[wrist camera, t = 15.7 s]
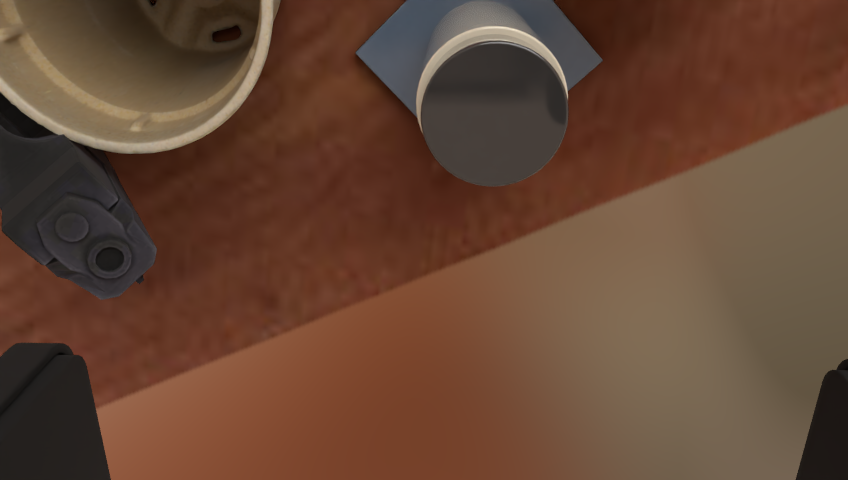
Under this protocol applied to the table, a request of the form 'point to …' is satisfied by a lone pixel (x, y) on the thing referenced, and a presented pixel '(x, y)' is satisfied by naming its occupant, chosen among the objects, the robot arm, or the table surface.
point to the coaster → (418, 16)
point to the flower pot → (131, 67)
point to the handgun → (69, 208)
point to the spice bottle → (490, 96)
